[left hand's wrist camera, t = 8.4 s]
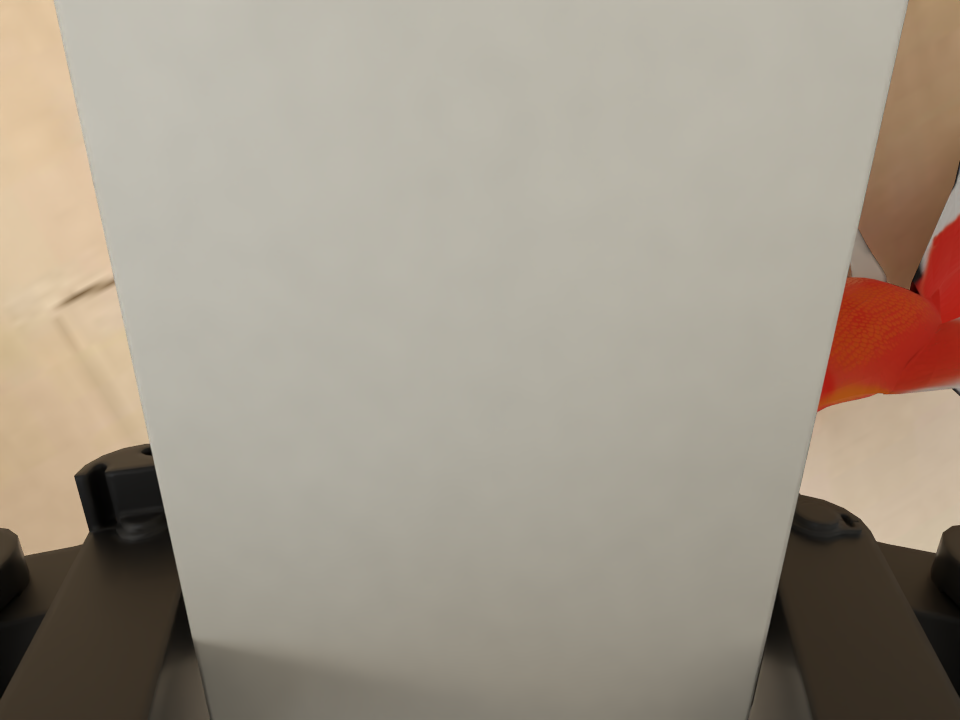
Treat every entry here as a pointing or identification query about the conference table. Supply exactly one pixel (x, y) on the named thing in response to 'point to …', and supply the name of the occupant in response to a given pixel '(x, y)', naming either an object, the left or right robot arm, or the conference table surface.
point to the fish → (899, 322)
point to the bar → (480, 332)
